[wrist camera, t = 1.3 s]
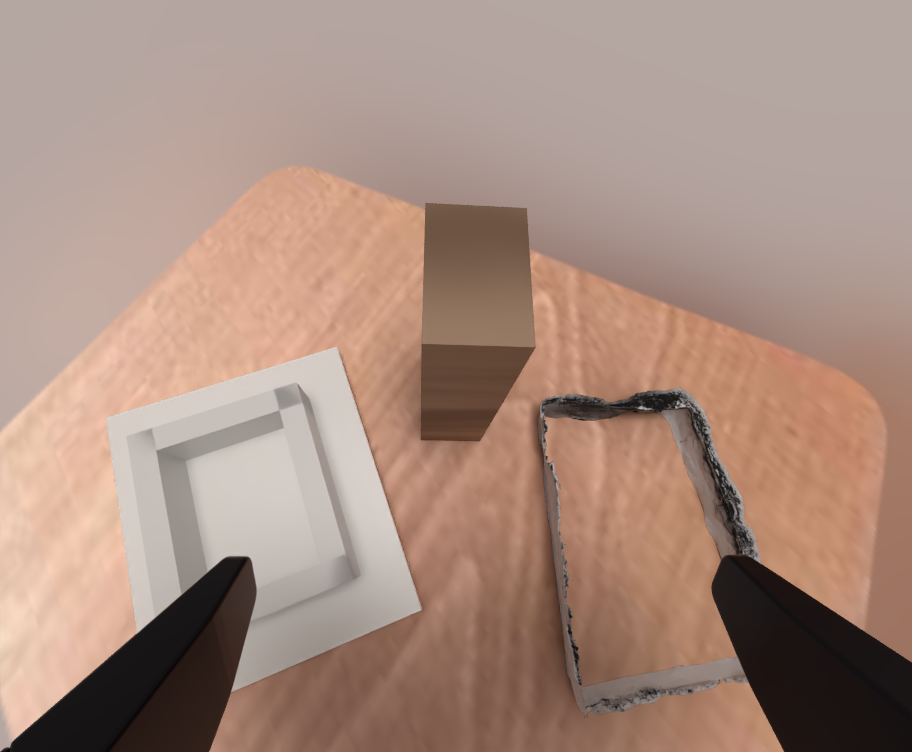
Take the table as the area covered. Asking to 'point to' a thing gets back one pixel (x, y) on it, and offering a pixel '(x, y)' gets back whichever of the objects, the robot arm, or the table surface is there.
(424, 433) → the walnut block
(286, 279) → the table surface
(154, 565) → the white recessed tray
